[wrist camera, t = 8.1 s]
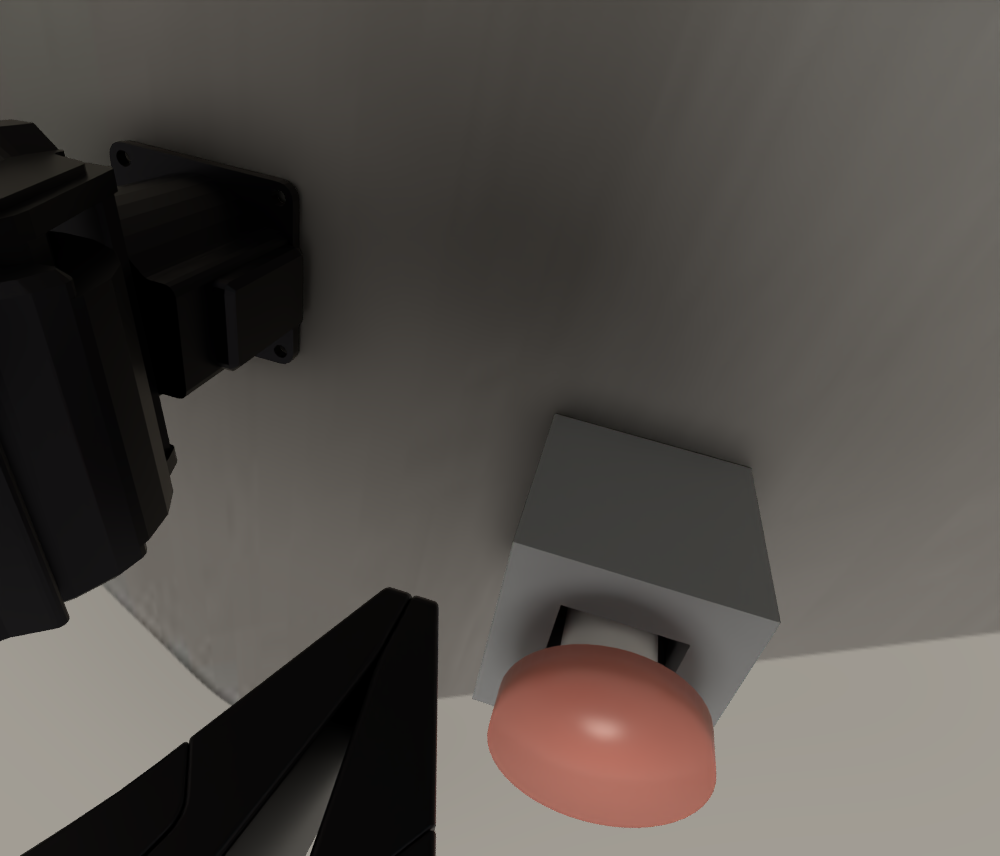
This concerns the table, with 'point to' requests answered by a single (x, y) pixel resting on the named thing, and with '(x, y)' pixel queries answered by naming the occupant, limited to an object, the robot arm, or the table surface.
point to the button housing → (638, 558)
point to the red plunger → (604, 729)
